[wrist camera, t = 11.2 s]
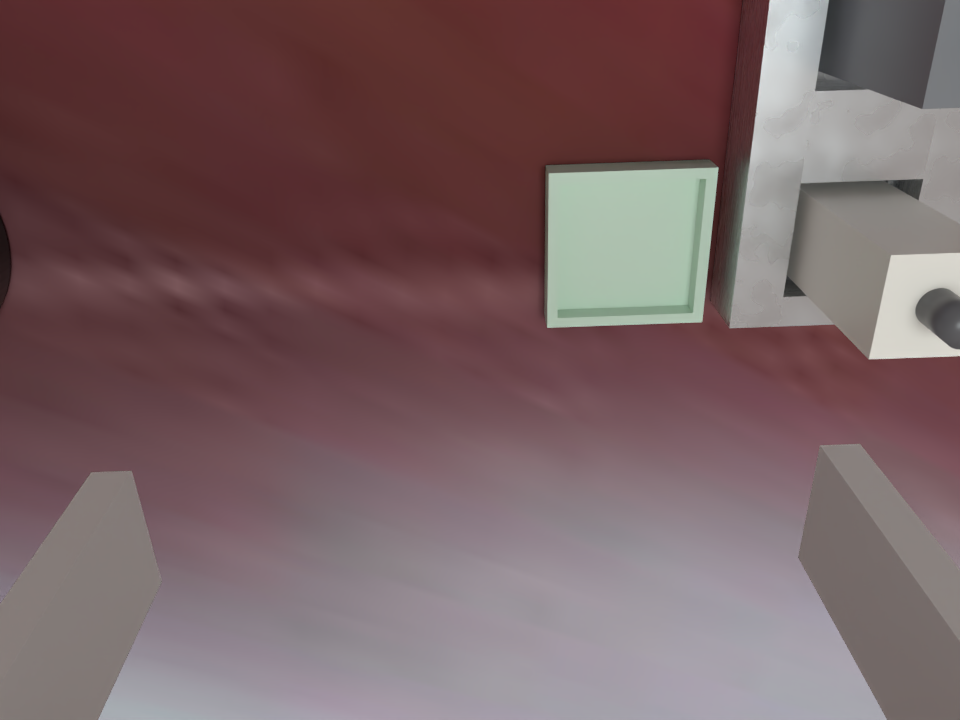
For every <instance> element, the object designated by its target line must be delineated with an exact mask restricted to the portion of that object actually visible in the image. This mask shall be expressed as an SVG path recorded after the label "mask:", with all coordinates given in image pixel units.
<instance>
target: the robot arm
mask: <svg viewBox="0 0 960 720" xmlns="http://www.w3.org/2000/svg"><path fill="white" fill-rule="evenodd" d="M9 278H10V253H9V246H8V241H7V237H6V233H5V229H4V227H3V224H2V221H1V218H0V307H1V305H2V303H3V301H4V298H5V295H6V292H7V288H8V284H9ZM798 558H799V560H800V562H801V563H802V565H803V567H804V569H805V571H806V573H807V574H808V576H809V578H810V580H811V582H812V583H813V585H814V587H815V589H816V591H817V593H818V594H819V596H820V598H821V600H822V602H823V604H824V605H825V607H826V609H827V611H828V613H829V614H830V616H831V618H832V620H833V622H834V624H835V625H836V627H837V629H838V631H839V633H840V635H841V636H842V638H843V640H844V642H845V644H846V645H847V647H848V649H849V651H850V653H851V655H852V656H853V658H854V660H855V662H856V664H857V665H858V667H859V669H860V671H861V673H862V675H863V676H864V678H865V680H866V682H867V684H868V686H869V687H870V689H871V691H872V693H873V695H874V696H875V698H876V700H877V702H878V704H879V706H880V707H881V709H882V711H883V713H884V715H885V717H886V718H887V720H960V569H959V568H958V567H957V566H956V564H955V563H954V562H953V561H952V559H951V558H950V557H949V556H948V554H947V553H946V552H945V550H944V549H943V548H942V547H941V545H940V544H939V543H938V542H937V540H936V539H935V538H934V537H933V535H932V534H931V533H930V532H929V530H928V529H927V528H926V527H925V525H924V524H923V523H922V522H921V520H920V519H919V518H918V517H917V515H916V514H915V513H914V511H913V510H912V509H911V508H910V506H909V505H908V504H907V503H906V501H905V500H904V499H903V498H902V496H901V495H900V494H899V493H898V491H897V490H896V489H895V488H894V486H893V485H892V484H891V483H890V481H889V480H888V479H887V477H886V476H885V475H884V474H883V472H882V471H881V470H880V469H879V467H878V466H877V465H876V464H875V462H874V461H873V460H872V459H871V457H870V456H869V455H868V454H867V452H866V451H865V450H864V449H863V447H862V446H861V445H860V444H847V445H820V448H819V453H818V458H817V463H816V469H815V474H814V479H813V484H812V489H811V494H810V500H809V505H808V510H807V515H806V520H805V525H804V530H803V536H802V541H801V546H800V551H799V556H798ZM161 582H162V580H161V577H160V573H159V569H158V566H157V562H156V558H155V555H154V551H153V547H152V544H151V540H150V536H149V533H148V529H147V525H146V522H145V518H144V514H143V511H142V507H141V503H140V500H139V496H138V492H137V489H136V485H135V481H134V478H133V474H132V471H115V472H91V473H90V475H89V476H88V478H87V479H86V481H85V482H84V484H83V485H82V486H81V488H80V489H79V491H78V492H77V494H76V495H75V497H74V498H73V500H72V501H71V502H70V504H69V505H68V507H67V508H66V510H65V511H64V513H63V514H62V515H61V517H60V518H59V520H58V521H57V523H56V524H55V526H54V527H53V528H52V530H51V531H50V533H49V534H48V536H47V537H46V539H45V540H44V541H43V543H42V544H41V546H40V547H39V549H38V550H37V552H36V553H35V555H34V556H33V557H32V559H31V560H30V562H29V563H28V565H27V566H26V568H25V569H24V570H23V572H22V573H21V575H20V576H19V578H18V579H17V581H16V582H15V583H14V585H13V586H12V588H11V589H10V591H9V592H8V594H7V595H6V596H5V598H4V599H3V601H2V602H1V604H0V720H98V718H99V716H100V714H101V712H102V710H103V708H104V705H105V703H106V701H107V699H108V697H109V695H110V693H111V690H112V688H113V686H114V684H115V682H116V680H117V677H118V675H119V673H120V671H121V669H122V667H123V664H124V662H125V660H126V658H127V656H128V654H129V651H130V649H131V647H132V645H133V643H134V641H135V639H136V636H137V634H138V632H139V630H140V628H141V626H142V623H143V621H144V619H145V617H146V615H147V613H148V610H149V608H150V606H151V604H152V602H153V600H154V598H155V595H156V593H157V591H158V589H159V587H160V585H161Z"/></svg>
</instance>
